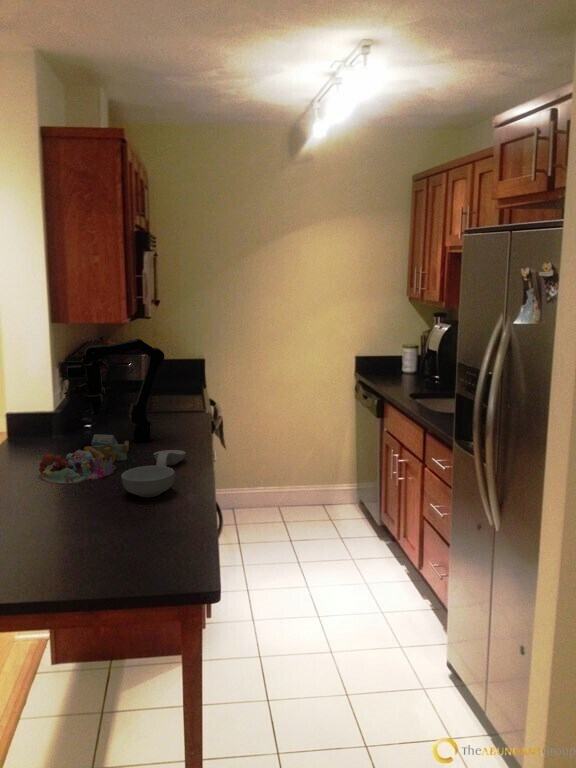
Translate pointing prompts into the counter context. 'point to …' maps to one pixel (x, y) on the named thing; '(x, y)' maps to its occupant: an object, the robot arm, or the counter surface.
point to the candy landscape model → (78, 466)
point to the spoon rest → (169, 457)
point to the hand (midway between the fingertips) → (96, 414)
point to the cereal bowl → (148, 480)
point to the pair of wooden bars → (115, 450)
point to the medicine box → (103, 440)
